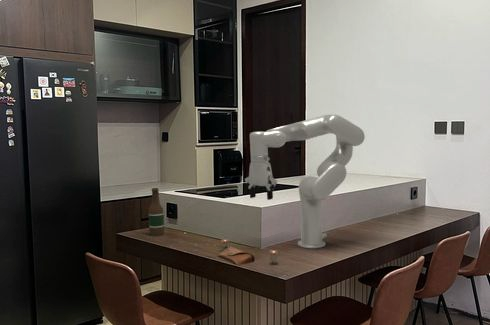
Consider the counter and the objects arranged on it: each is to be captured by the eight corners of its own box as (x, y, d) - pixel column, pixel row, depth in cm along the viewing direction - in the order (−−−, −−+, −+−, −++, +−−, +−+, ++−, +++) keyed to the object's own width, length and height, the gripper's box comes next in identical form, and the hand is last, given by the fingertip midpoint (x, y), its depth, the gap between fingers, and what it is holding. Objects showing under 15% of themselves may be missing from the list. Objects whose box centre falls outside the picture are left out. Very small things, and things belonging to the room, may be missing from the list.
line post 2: (273, 261, 196) (273, 249, 196) (279, 263, 194) (279, 250, 193) (268, 263, 194) (268, 251, 193) (274, 265, 192) (274, 252, 191)
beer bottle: (146, 234, 247) (144, 188, 245) (159, 231, 252) (157, 186, 250) (154, 237, 241) (152, 189, 239) (167, 234, 247) (165, 188, 244)
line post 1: (225, 249, 215) (224, 238, 215) (230, 251, 213) (229, 239, 213) (220, 251, 213) (219, 240, 212) (225, 252, 211) (224, 241, 210)
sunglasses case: (214, 255, 206) (220, 241, 208) (226, 261, 210) (232, 246, 212) (238, 265, 192) (245, 250, 193) (250, 271, 196) (257, 256, 197)
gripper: (280, 159, 206) (282, 198, 208) (249, 158, 218) (251, 195, 219) (269, 161, 201) (271, 201, 203) (239, 160, 212) (241, 198, 214)
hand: (261, 198), depth 211 cm, fingers open, 9 cm apart
